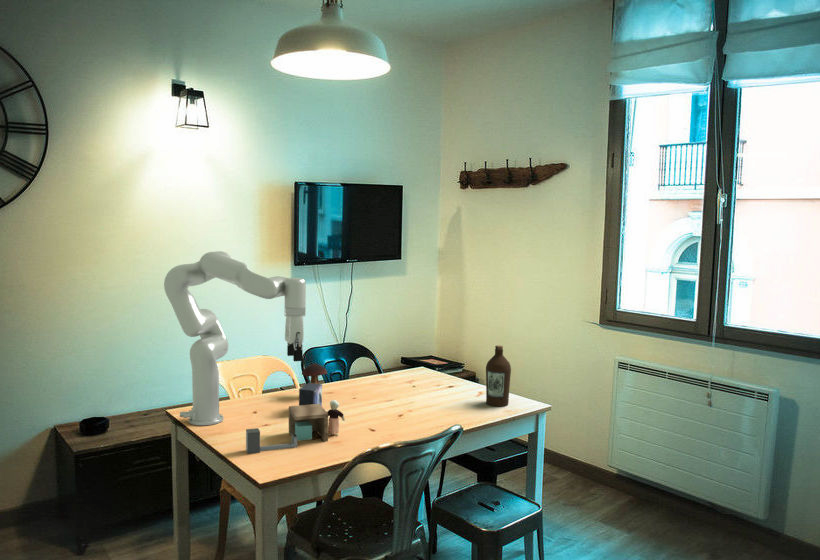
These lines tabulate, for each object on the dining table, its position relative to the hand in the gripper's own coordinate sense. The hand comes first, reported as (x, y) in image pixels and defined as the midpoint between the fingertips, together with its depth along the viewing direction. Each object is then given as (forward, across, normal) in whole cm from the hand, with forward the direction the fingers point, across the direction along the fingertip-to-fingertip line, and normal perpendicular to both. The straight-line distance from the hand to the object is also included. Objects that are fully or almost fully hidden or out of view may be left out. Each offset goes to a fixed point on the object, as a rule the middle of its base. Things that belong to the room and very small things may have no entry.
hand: (294, 358), depth 233 cm
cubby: (+26, +12, +2) cm, 29 cm away
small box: (+26, -17, +11) cm, 33 cm away
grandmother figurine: (+26, +13, +11) cm, 31 cm away
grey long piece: (+26, +19, -12) cm, 34 cm away
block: (+26, +12, 0) cm, 29 cm away
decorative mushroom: (+26, -37, +18) cm, 48 cm away
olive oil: (+26, -2, +88) cm, 92 cm away
